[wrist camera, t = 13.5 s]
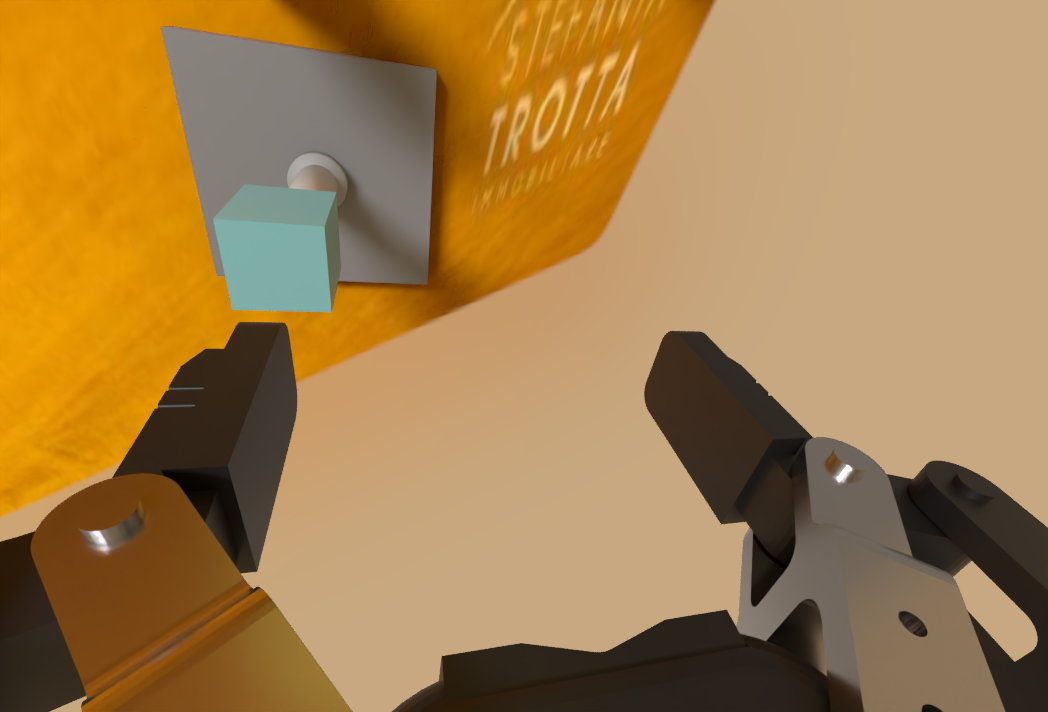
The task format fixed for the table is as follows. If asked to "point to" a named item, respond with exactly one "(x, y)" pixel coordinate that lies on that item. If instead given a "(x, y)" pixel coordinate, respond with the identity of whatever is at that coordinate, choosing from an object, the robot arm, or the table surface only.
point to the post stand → (313, 140)
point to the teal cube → (280, 248)
